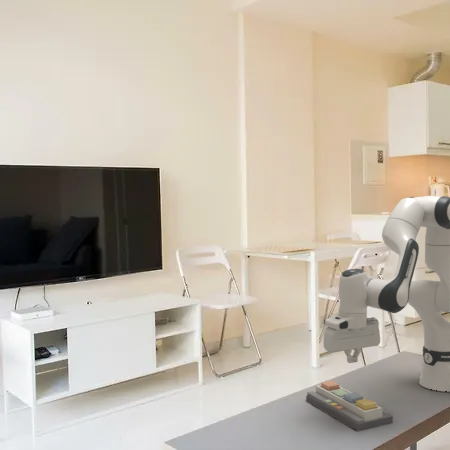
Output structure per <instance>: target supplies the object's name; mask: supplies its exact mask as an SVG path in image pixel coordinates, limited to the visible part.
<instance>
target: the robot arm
mask: <svg viewBox="0 0 450 450" xmlns="http://www.w3.org/2000/svg"><path fill="white" fill-rule="evenodd" d="M421 227H424V228H425V229H426V231H425V236H424V239H425V241H424V263H425V266H426V267H427V268H428V269H429V270H430V271H432V272H434V273H435V274H437V276H438V277H439V280H440V281H436V280H431V279H428V280H427V279H418V280H413V277H414V274H415V269H416V265H417V262H418V257H419V252H420V251H419V250H420V247H419V244H418V243H417V241H416V240H417V236H418V233H419V231H420V228H421ZM381 238H382V240H383V243H384V244H385V246H387V248H388V249H390V250H391V251H392V252H394V254H395V253H396V254H397V255H398V256H399V257H398V262H397V264H396V269H395V270H394V271H395V272H394V274H393V277H392V278H390V279H382V278H377V277H373V276H371V275H368V274H367V273H366V272H365V271H364V269H361V268H352V269H351V268H350V269H346V270H344V271H343V272H341V273H340V277H339V281H338V282H339V283H338V300H339V307H338V313H336V314H334V315H332V316H330V317H329V318H327V319H325V321H324V324H325V327H326V328H324V329H325V330H324V332H323V348H324V350H325V351H327V352H329V353H338V352H344V354H345V356H346V361H347V363H349V364H351V363H352V364H353V363H358V361H359V359H358V357H359V356H360V354H361V352H362V349H364V348H370V347H377V346H379V345H380V344H381V333H380V332H381V331H380V327H379V325H380V324H379V320H378V319H377V318H376V317H374V316H373V317H368V310H367V307H370V308H374V309H378V310H382V311H385V312H387V313H390V314H397V313H399V312H401V311H402V310H403V309H405V308H406V306H408V305H409V306H411V307H412V308H413V310H415V312H416V313H417V314H418V316H419V318H420V320H421V324H422V326H423V346H422V356H423V357H422V363H421V371H420V374H419V382H418V384H419V385H420V386H422V387H424V388H426V389H429V390H431V389H432V391H436V390H437V392H445V391H447V392H448V393H450V321H449V320H447V319H446V318H445V317H444V316H443V315H442V313H441V312H443V313H450V197H449V196H440V195H439V196H438V195H425V196H424V195H423V196H416V197H415V196H410V197H404V198H402V199H401V200H399V202H397V204H396V205H395V207H394V208H393V210H392V211H391V213H390V214H389V216H388V218H387V220H386V221H385V223H384V225H383V228H382V231H381ZM352 350H353V354H351V353H352ZM447 392H446V393H447Z"/></svg>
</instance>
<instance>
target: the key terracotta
mask: <svg viewBox="0 0 450 450" xmlns="http://www.w3.org/2000/svg"><path fill="white" fill-rule="evenodd" d="M320 385H321V387H322V388H323V389H325V390H327V391H332V390H337V389H339V386H340V383H336V382H335V381H333V380H328V381H327V380H326V381H323V382H320Z"/></svg>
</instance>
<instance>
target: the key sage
mask: <svg viewBox="0 0 450 450" xmlns="http://www.w3.org/2000/svg"><path fill="white" fill-rule="evenodd" d="M332 393H333V394H335V395H337V396H338V397H344V394H348V392H346V391H344V390H338V391H333V392H332Z"/></svg>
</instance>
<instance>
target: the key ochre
mask: <svg viewBox="0 0 450 450" xmlns="http://www.w3.org/2000/svg"><path fill="white" fill-rule="evenodd" d="M376 405H377V403H376V402H375V401H374V400H372V399H368V398H364V399H362V400H358V401H356V406H357V407H359V408H361V409H363V410H365V411H366V410H370V409H375V408H376Z"/></svg>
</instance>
